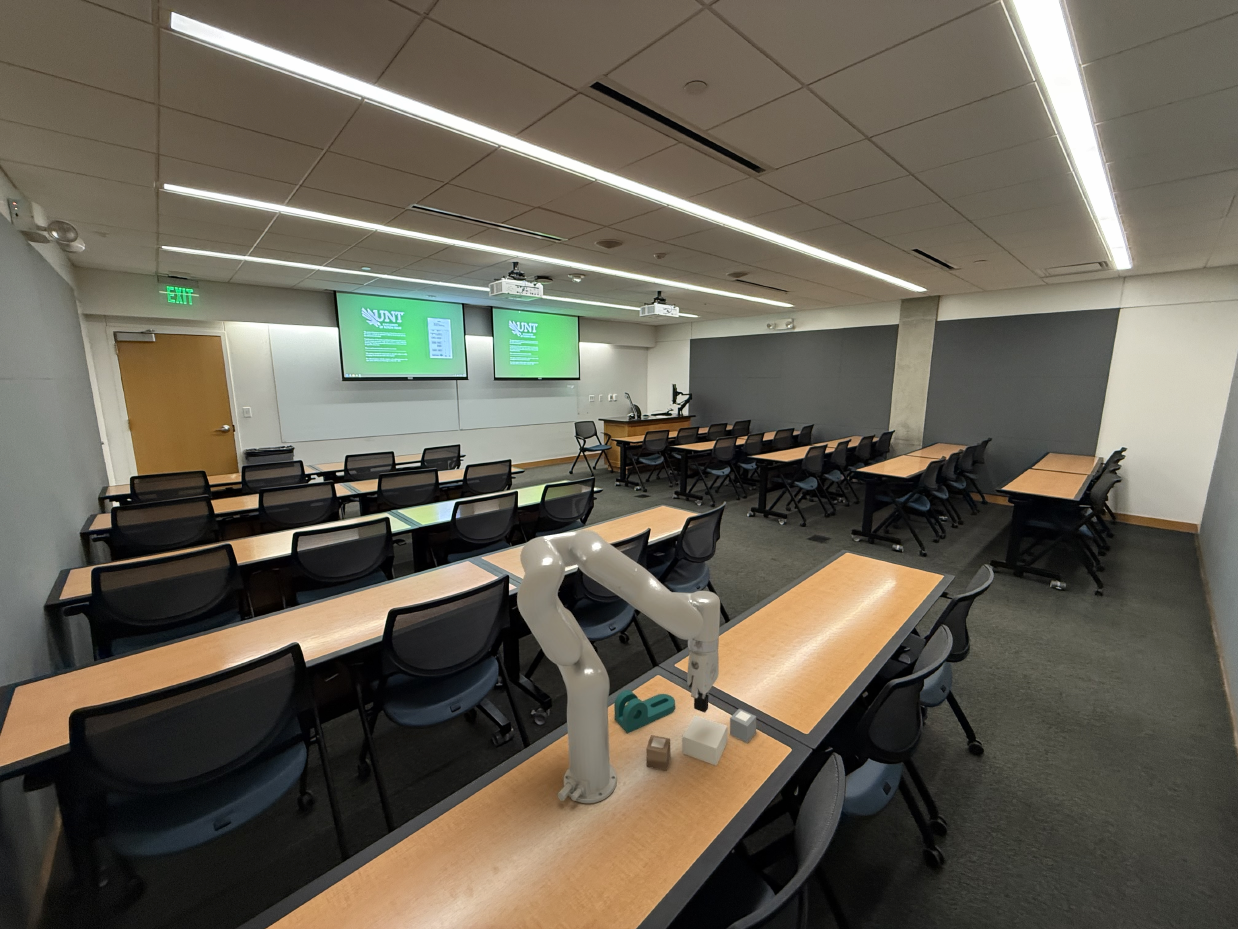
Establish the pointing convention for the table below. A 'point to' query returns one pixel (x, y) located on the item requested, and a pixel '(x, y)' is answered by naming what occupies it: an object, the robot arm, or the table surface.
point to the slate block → (743, 725)
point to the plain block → (704, 740)
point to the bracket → (641, 710)
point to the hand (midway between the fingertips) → (700, 709)
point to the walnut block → (658, 752)
